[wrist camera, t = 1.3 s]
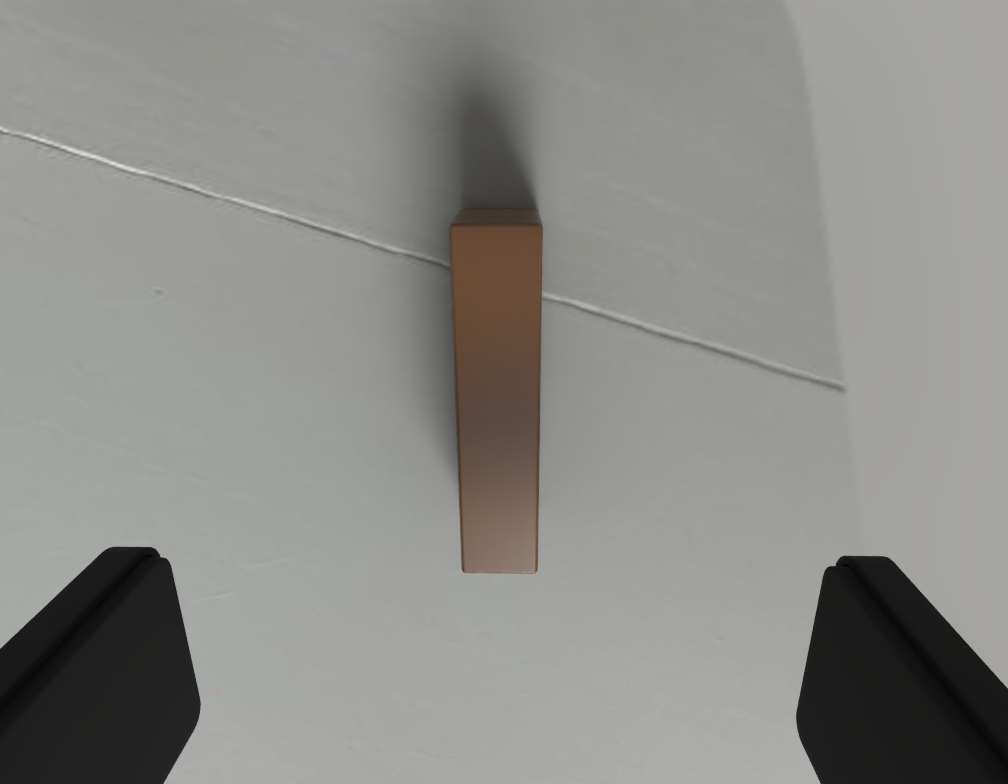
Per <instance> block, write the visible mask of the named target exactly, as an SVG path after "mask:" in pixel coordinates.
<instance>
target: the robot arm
mask: <svg viewBox="0 0 1008 784" xmlns="http://www.w3.org/2000/svg"><path fill="white" fill-rule="evenodd" d="M200 705H201V703H200V696H199V692H198V687H197V683H196V678H195V673H194V669H193V664H192V660H191V655H190V651H189V646H188V641H187V637H186V632H185V628H184V623H183V618H182V614H181V609H180V605H179V600H178V596H177V591H176V586H175V582H174V577H173V573H172V568H171V565H170V562H169V561H168V560H167V559H166V558H161V557H160V555H159V553H158V552H157V550H156V549H154V548H151V547H111V548H108V549H106V550H105V551H103V552H102V553H101V554H100V555H99V556H98V557H97V558H96V559H95V560H94V561H93V562H92V563H91V564H90V565H88V566H87V567H86V568H85V569H84V570H83V571H82V572H81V573H80V574H79V575H78V576H77V577H76V578H75V579H74V580H73V581H72V582H70V583H69V584H68V585H67V586H66V587H65V588H64V589H63V590H62V591H61V592H60V593H59V594H58V595H57V596H56V597H55V598H54V599H53V600H51V601H50V602H49V603H48V604H47V605H46V606H45V607H44V608H43V609H42V610H41V611H40V612H39V613H38V614H37V615H36V616H35V617H33V618H32V619H31V620H30V621H29V622H28V623H27V624H26V625H25V626H24V627H23V628H22V629H21V630H20V631H19V632H18V633H17V634H16V635H14V636H13V637H12V638H11V639H10V640H9V641H8V642H7V643H6V644H5V645H4V646H3V647H2V648H1V649H0V784H163V783H164V782H165V780H166V778H167V776H168V775H169V773H170V771H171V769H172V768H173V766H174V764H175V762H176V761H177V759H178V757H179V755H180V754H181V752H182V750H183V748H184V747H185V745H186V743H187V741H188V740H189V738H190V736H191V734H192V733H193V731H194V729H195V727H196V725H197V722H198V719H199V714H200ZM796 721H797V729H798V733H799V737H800V740H801V742H802V745H803V747H804V749H805V751H806V753H807V755H808V757H809V759H810V762H811V764H812V766H813V768H814V770H815V772H816V774H817V777H818V779H819V781H820V783H821V784H1008V688H1007V687H1006V686H1005V685H1004V684H1003V683H1002V682H1001V681H1000V680H999V679H998V678H997V676H996V675H995V674H994V673H993V672H992V671H991V670H990V668H988V666H987V665H986V664H985V663H984V662H983V661H982V660H981V658H980V657H979V656H978V655H977V654H976V653H975V652H974V651H973V650H972V649H971V647H970V646H969V645H968V644H967V643H966V642H965V641H964V640H963V638H962V637H961V636H960V635H959V634H958V633H957V632H956V631H955V630H954V629H953V627H952V626H951V625H950V624H949V623H948V622H947V621H946V620H945V618H944V617H943V616H942V615H941V614H940V613H939V612H938V611H937V610H936V609H935V607H934V606H933V605H932V604H931V603H930V602H929V601H928V600H927V598H926V597H925V596H924V595H923V594H922V593H921V592H920V591H919V590H918V589H917V587H916V586H915V585H914V584H913V583H912V582H911V581H910V580H909V578H908V577H907V576H906V575H905V574H904V573H903V572H902V571H901V570H900V569H899V567H898V566H897V565H896V564H895V563H894V562H893V561H892V560H891V559H889V558H888V557H883V556H843V557H840V558H839V560H838V561H837V563H836V566H830V567H827V569H826V570H825V572H824V575H823V580H822V585H821V590H820V595H819V600H818V605H817V610H816V616H815V621H814V626H813V631H812V636H811V641H810V646H809V651H808V656H807V661H806V666H805V672H804V677H803V682H802V687H801V692H800V697H799V702H798V707H797V714H796Z"/></svg>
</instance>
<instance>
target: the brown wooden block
mask: <svg viewBox="0 0 1008 784" xmlns="http://www.w3.org/2000/svg"><path fill="white" fill-rule="evenodd" d="M542 234H543V227H542V223H541V219H540V215H539V211H538V210H536V209H464V210H461V212H460V213H459V214H458V215H457V217H456V218H455V219H454V220H453V222H452V223H451V224H450V227H449V238H450V265H451V292H452V319H453V346H454V373H455V400H456V427H457V454H458V481H459V508H460V534H461V561H462V571H463V572H464V573H536V572H537V570H538V509H539V441H540V372H541V303H542Z"/></svg>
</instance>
